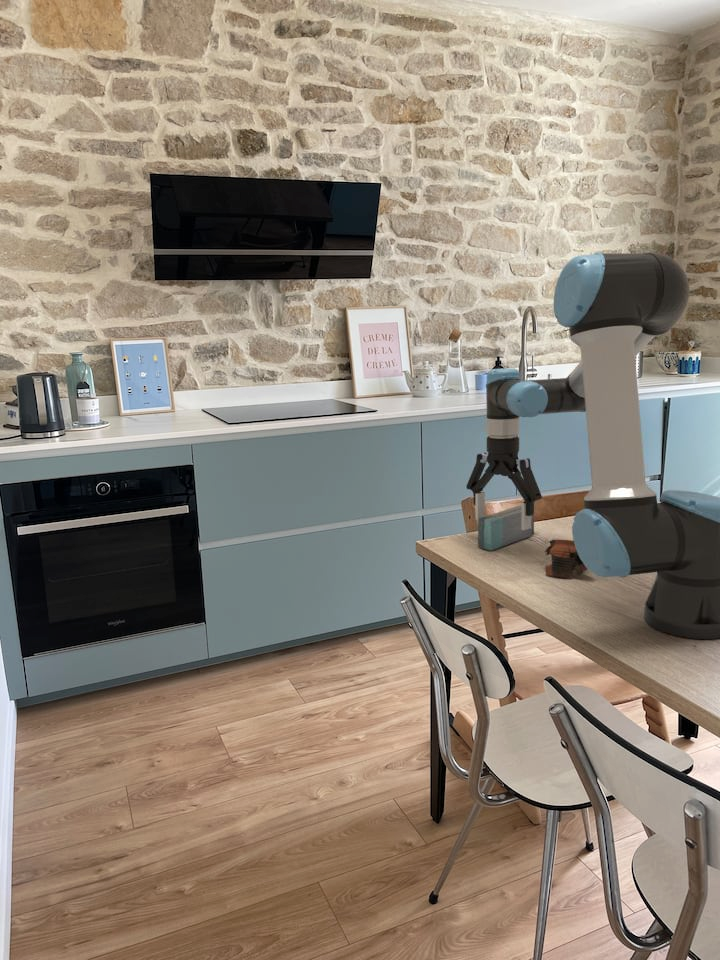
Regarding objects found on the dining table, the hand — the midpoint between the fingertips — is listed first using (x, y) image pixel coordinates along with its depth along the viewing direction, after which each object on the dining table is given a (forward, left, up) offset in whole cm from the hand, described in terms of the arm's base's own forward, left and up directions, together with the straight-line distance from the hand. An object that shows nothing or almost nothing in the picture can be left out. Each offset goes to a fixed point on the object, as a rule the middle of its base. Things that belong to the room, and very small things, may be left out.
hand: (502, 523), depth 177 cm
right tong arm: (+2, -1, -5) cm, 5 cm away
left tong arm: (+2, +1, -5) cm, 5 cm away
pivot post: (+11, 0, -5) cm, 12 cm away
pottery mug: (-6, -22, -5) cm, 24 cm away
